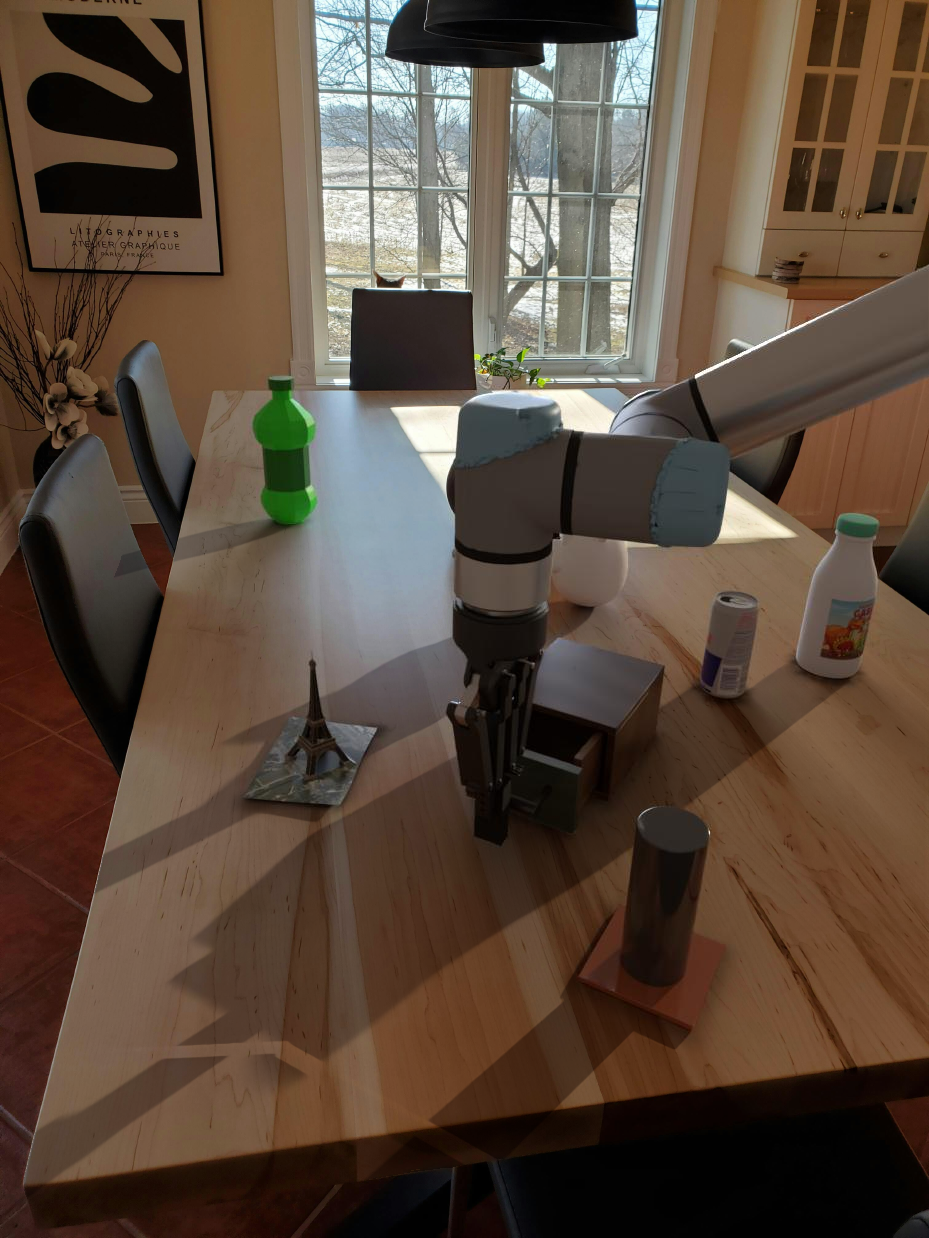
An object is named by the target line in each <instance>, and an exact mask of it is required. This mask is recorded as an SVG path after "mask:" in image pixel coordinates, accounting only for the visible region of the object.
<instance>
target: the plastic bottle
mask: <svg viewBox="0 0 929 1238" xmlns="http://www.w3.org/2000/svg"><path fill="white" fill-rule="evenodd" d="M267 385H268V386H267V387H268V390H269V391H271V396H272V398H271V399H270V400H269V401H268V402H267V403H265V404H264V405H263V406H262V407H261V408H260V409H259V410H258V411H257V412H256V414H254V416H253V419H252V431H253V435H254V438H255V440H256V441H257V442H258V443H259V444H260V446H261V451H262V461H263V462H262V463H263V475H264V476H263V477H264V486H263V488H262V490H261V494H260V503H261V505H262V508H263V509H264V511H265V512H266V514H267V516H269V517H270V518H271V519H273V520H274V521H275V522H276V523H277V524H281V525H297V524H301V523H303V522H305V521H306V518H308V517H309V516H310V515H311V514H312V513H313V512H314V510H315V509H316V507H317V505H318V495H317V493H316V491H315V489H314V487H313V486H312V481H311V464H310V448H309V447H310V446H309V445H310V444H311V443H312V441H313V440H314V439H315V435H316V422H315V419H314V417H313V415H312V414H311V413H310V412H309V411H307V410H306V409H305V408H304V407H303V406H302V405H301V404H300V403H299V402H297V401H296V400H295V399H294V398H293V395H292V391H293V390H294V389H295V378H294V376H292V375H279V374H278V375H272V376H269V377H267Z"/></svg>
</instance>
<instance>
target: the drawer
mask: <svg viewBox="0 0 929 1238" xmlns="http://www.w3.org/2000/svg"><path fill="white" fill-rule="evenodd" d="M607 737H608V733H607V732H604V731H600V730H597V729H594V728H590V727H587V726H584V725H581V724H577V723H574V722H571V721H568V720H564V719H561V718H558V717H555V716H551V715H548V714H545V713H541V712H538V711H535V710H532V709H531V715H530V721H529V727H528V734H527V740H526V746H525V752H524V755H523V756H522V757H517V756H516V764H518V765H521V766H524V768H523V772H522V774H521V775H520V776H519V777H518V776H515V775H512V774H510V777H511V792H510V812H509V813H512V814H515V815H517V816H520V817H523V818H525V819H529V820H530V821H534V822H537V823H539V824H541V825H545V826H548V827H551V828H553V829H555V830H558V831H560V832H564V833H566V834H570V835H574V834H575V832H576V831H577V830H578V827H579V818H580V811H581V810H582V808H583V807H584V806H585V804H586V803H587V802H588V800H589V799H590V798H591V795H592V793H593V792H594V791H595V789H596V788H597V786H598V785H599V784H600V782H601V781H602V780H603V774H604V765H605V756H606V746H607ZM464 791H465V796H467V797H469V798H471V799H474V800H475V790H473V789H471V788H468V787H465V789H464Z"/></svg>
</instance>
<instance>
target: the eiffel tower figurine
mask: <svg viewBox="0 0 929 1238" xmlns="http://www.w3.org/2000/svg"><path fill="white" fill-rule="evenodd" d="M310 653H311V654H313V650H311V652H310ZM308 666H309V702H308V713H307V715H306V716H305V717H299V716H298V717H297V716H290V717H289V719H288V720H287V721H286V724H285V725H284V727H283V729H282V730H281V732H280V734H279V736H278V737H277V739H276V740H275V742H274V744H273V746H272V747H271V748H270V750H269V752H268V754H267V755H266V757H265V759H264V760H263V762H262V764H261V765H260V767H259V769H258V771H257V773H256V774H255V776H254V777H253V779H252V781H251V783H250V784H249V786H248V787H247V790H246V791H245V793H244V794H243V796H242V798H243V799H253V800H264V801H265V800H266V801H278V802H289V803H304V804H323V805H334V806H341V804H342V802H343V801H344V799H345V797H346V795H347V793H348V791H349V789H350V788H351V785H352V783H353V781H354V779H355V776H356V773H357V771H358V767H360V766H361V764H360V763H361V761H362V759H363V756H364V754H365V752H366V750H367V749H368V747H369V745H370V743H371V741H372V740H373V738H374V736H375V734H376V732H377V731H378V727H372V726H365V725H357V724H349V723H348V724H347V723H341V722H332V721H326V719H327V718H326V717H325V716H324V713H323V708H322V703H321V698H320V692H319V691H320V690H319V685H318V677H317V669H316V667H317V662H316V661H315V659H313V656H311V659H310V660H309V661H308Z"/></svg>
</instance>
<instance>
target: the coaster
mask: <svg viewBox="0 0 929 1238" xmlns="http://www.w3.org/2000/svg"><path fill="white" fill-rule="evenodd" d="M625 908H626V904H622V903H619V905H617V908H616V910H615V912H614V913H613V915H612V917H611V918H610V920H609V921H608V924H607V925H606V927H605V929H604V930H603V932H602V934H601V935H600V937H599V940H597V942H596V944H595V947H594V948H593V950H592V951H591V953H590V955H589V957H588V958H587V960H586V961H585V964H584V965H583V967H582V969H581V970H580V973H579V974H578V976H577V981H578V982H579V983H582V984H584V985H587V986H588V987H592V988H594V989H595V990H597V991H601V992H603V993H605V994H607V995H609V996H612V997H614V998H617V999H618V1000H621V1001H623V1002H625V1003H627V1004H629V1005H632V1006H634V1007H636V1008H639V1009H641V1010H644V1011H645V1012H648V1013H650V1014H653V1015H655V1016H657V1017H659V1018H661V1019H664V1020H666V1021H668V1022H670V1023H673V1024H675V1025H677V1026H680V1027H681V1028H684V1029H686V1030H689V1031H691V1032H693V1030H694V1028H695V1025H696V1023H697V1020H698V1017H699V1016H700V1012H701V1011H702V1008H703V1005H704V1003H705V1000H706V998H707V996H708V993H709V992H710V991H709V990H710V988H711V985H712V983H713V980H714V978H715V976H716V973H717V971H718V968H719V965H720V963H721V962H722V961H721V960H722V958H723V956H724V953H725V951H726V947H727V946H726V944H725V943H721V942H719V941H716V940H715V939H714V940H713V939H711V938H708V937H706V936H704V935H701V934H698V933H696V932H694V931H693V936H692V941H691V947H690V953H689V958H688V964H687V970H686V973H685V975H684V976H683V977H682V979H680V980H679V981H678V982H676V983H674V984H672V985H669V986H651V985H647V984H644V983H641V982H639V981H637V980H636V979H634V978H633V977H632V976H630V975H629V974H628V973H627V972H626V970H625V969H624V968H623V966H622V964H621V961H620V946H621V939H622V931H623V923H624V916H625Z"/></svg>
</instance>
